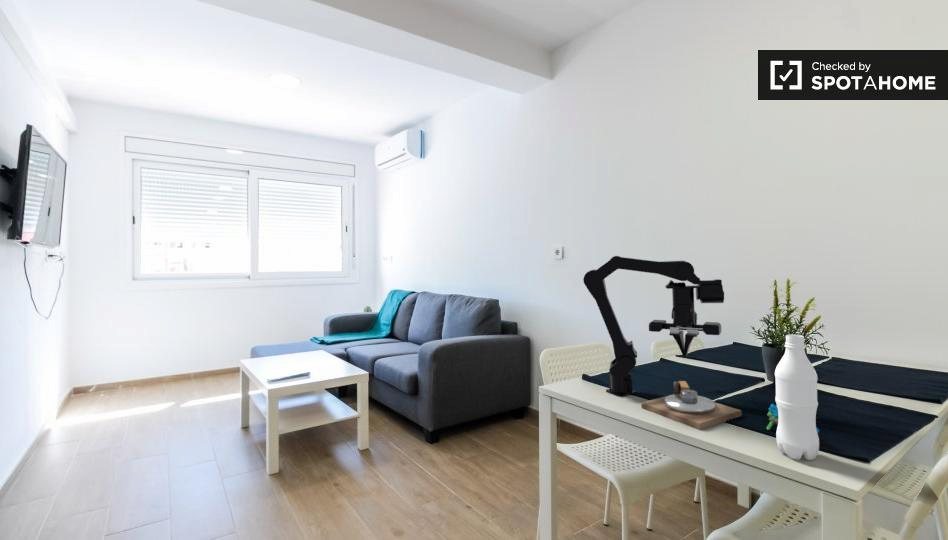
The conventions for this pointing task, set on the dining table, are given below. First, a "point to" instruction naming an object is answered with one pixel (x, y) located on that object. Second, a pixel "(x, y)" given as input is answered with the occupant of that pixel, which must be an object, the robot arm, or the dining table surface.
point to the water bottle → (796, 401)
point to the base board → (693, 420)
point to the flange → (689, 401)
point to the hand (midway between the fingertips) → (685, 356)
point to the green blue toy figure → (775, 416)
